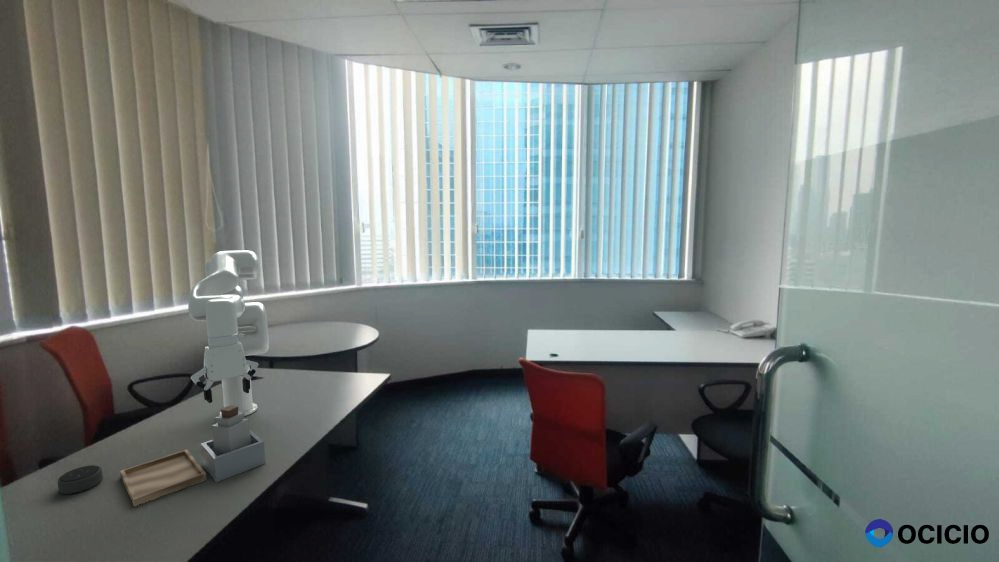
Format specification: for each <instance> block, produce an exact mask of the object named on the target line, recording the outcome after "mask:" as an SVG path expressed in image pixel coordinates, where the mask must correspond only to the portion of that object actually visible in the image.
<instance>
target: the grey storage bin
mask: <svg viewBox="0 0 999 562" xmlns="http://www.w3.org/2000/svg"><path fill="white" fill-rule="evenodd" d="M250 438H251V445H248V446H245V447H242V448H240V449H237V450H234V451H231V452H228V453H225V454H222V455H219V456H217V455H216V454H215V453H214V444H213V439H211V440H208V441H205V442H201V443H200V449H201V459H202V467H204V469H205V468H206V469H205V470H206V471H207V473H209V475H210V476H211V477H212V478H213V480H214V482H215V483H218V482H220V481H222V480H226V479H228V478H230V477H234V476H236V475H238V474H241V473H243V472H247V471H248V470H251V469H254V468H256V467H259V466H261V465H264V464H266V455H265V454H266V453H265V443H264V441H263V440H262V439H261V438H260V437H259V436H258V435H256V434H255V432H253V431H252V429H250Z"/></svg>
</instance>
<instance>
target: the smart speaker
mask: <svg viewBox="0 0 999 562" xmlns="http://www.w3.org/2000/svg"><path fill="white" fill-rule="evenodd" d="M102 480H103V470H102V467H101V466H99V465H94V464H93V465H86V466H85V465H84V466H80V467H77V468H74V469H72V470H69V471H68V472H65V473H63V474H62V475H60V477H59V478H58V479H57V489H58V492H59V493H61V494H64V495H71V494H72V493H73V494H77V492H78V493H81V492H85V491H87V490H89V489H91V488H93V487H95V486H97V485H98V484H99V483H100V482H101V481H102Z"/></svg>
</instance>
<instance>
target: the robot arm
mask: <svg viewBox="0 0 999 562" xmlns="http://www.w3.org/2000/svg"><path fill="white" fill-rule="evenodd" d="M210 257H211V258H210V259H209V260H206V262H205V264H204V272H205V275H206V276H207V277H205V278H203V279H201V280H200V281H199V282H197V283H195V285H194V286H193V287H192V288H191V290H190V293H189V300H188V308H187V309H188V315H189V317H190V319H192V320H194V321H196V322H206V332H207V344H208V345H207V346H205V347H204V353H203V368H201V369H200V370H199V371H197V372H195V373H194V374H192V375H191V376H190V380H192V382H193V383H194V384H195V385H196V386H197V387H199V388H200V389H203V390H202V391H203V398H204V401H206V402H207V403H208V404H211V403H213V393H212V391H213V390H212V389H211V387H212V385H213V384H214V383H215V382H220V381H221V387H222V388H221V389H222V399H223V408H225V407H227V406H229V405H233V406H238V412H244V413H245V414H244V417H246V416H250V415H252V414H254V412H256V411H257V410H258V404H257V403H255V402H253V392H252V378H253V377H254V374H256V371H257V369H258V367H259V363H258V362H256V361H252V360H249V359H248V360H247V359H246V356H254V355H262V354H265V353H267V352H268V350H269V348H270V339H269V338H270V337H269V326H268V314H267V310H266V306H265V305H264V303H262V302H258V301H253V302H252V301H251V302H245V299H244V293H243V289H242V288H241V286H240V285H239V283H240V281H247V280H249V281H250V280H251V281H252V280H256V279H258V278H259V276H260V274H261V265H260V264H261V263H260V260H259V257H258V254H257V253H255V251H252V250H247V249H246V250H222V251H218V252H216V253H214V254H212V256H210ZM243 328H253V330H241V331H239V329H243ZM202 376H204V379H205V381H203V382H202V381H201V380H200V378H201V377H202ZM220 415H222V414H221V410H220V411H219V416H220Z"/></svg>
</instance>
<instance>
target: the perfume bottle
mask: <svg viewBox="0 0 999 562" xmlns="http://www.w3.org/2000/svg"><path fill="white" fill-rule="evenodd" d="M220 411H221V414H222V415H220V414H219V415H218V416H216V417H215V418H214V419H215V421H216V423H214V424H212V425H211V430H212V440H213V444H214V453H215V454H216V455H217V456H219V455H222V454H225V453H228V452H231V451H234V450H237V449H240V448H242V447H245V446H248V445H251V438H250V430H251V429H250V427H251V426H250V425H251V424H250V419H249V418H245V416H244V414H245V413H244V412H238V406H233V405H229V406H227V407H225V408H224V407H223V408H220Z"/></svg>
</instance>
